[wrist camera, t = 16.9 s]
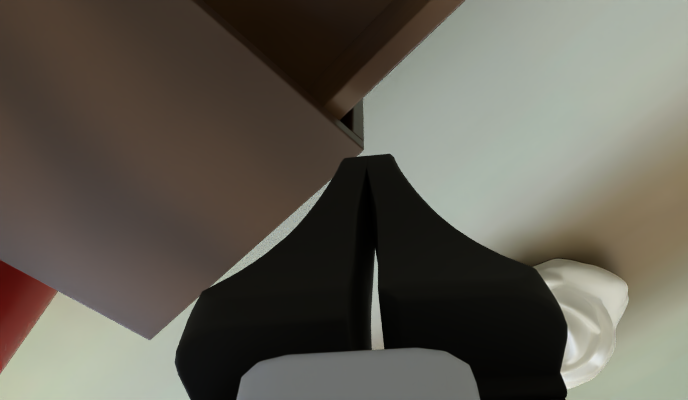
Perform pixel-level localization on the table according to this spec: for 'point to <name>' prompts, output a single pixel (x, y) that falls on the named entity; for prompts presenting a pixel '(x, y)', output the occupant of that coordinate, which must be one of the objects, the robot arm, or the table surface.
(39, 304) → the can
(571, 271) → the white lumpy piece
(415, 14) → the drawer
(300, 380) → the robot arm
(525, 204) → the table surface
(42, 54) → the cabinet
